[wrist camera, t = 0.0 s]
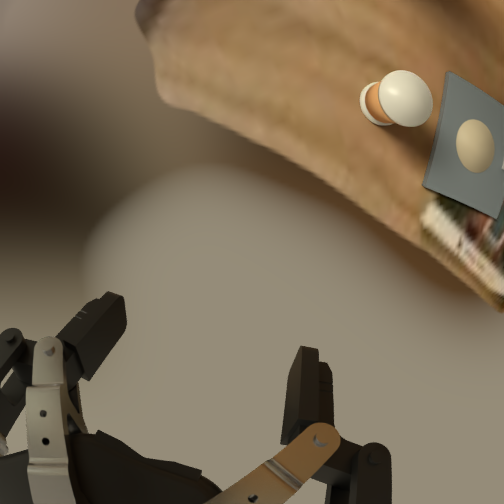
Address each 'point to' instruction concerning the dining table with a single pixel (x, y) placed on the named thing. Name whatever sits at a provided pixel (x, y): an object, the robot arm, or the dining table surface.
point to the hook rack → (468, 147)
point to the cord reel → (397, 100)
